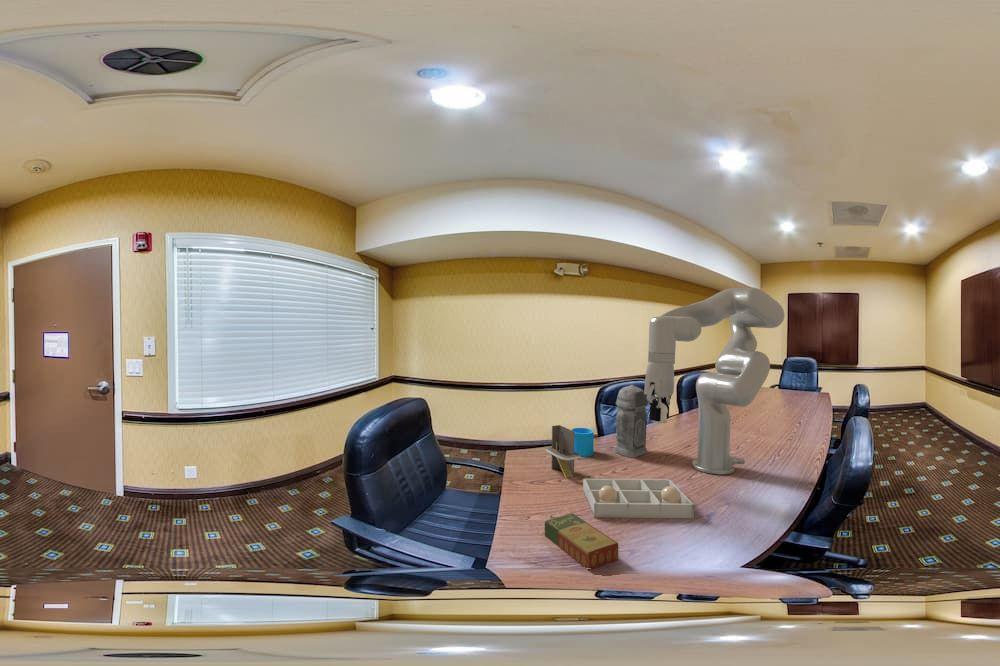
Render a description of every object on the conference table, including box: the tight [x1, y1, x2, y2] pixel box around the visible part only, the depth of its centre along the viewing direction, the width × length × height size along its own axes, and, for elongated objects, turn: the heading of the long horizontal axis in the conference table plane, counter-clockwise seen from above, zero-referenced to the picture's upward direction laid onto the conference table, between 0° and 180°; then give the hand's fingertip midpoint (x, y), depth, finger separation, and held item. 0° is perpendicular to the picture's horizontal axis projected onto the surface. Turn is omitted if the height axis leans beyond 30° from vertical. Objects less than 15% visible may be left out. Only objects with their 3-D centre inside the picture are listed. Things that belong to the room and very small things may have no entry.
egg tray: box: [582, 478, 695, 519], centre depth 123 cm, size 25×17×4 cm
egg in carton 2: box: [661, 486, 680, 504], centre depth 118 cm, size 5×5×6 cm
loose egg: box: [651, 403, 668, 424], centre depth 136 cm, size 5×5×6 cm
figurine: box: [613, 384, 649, 459], centre depth 165 cm, size 10×14×25 cm
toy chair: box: [545, 424, 581, 479], centre depth 145 cm, size 20×25×15 cm
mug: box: [570, 427, 595, 457], centre depth 164 cm, size 12×8×8 cm
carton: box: [544, 512, 619, 569], centre depth 100 cm, size 8×16×4 cm, turn 28°
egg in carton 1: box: [599, 486, 617, 503], centre depth 119 cm, size 5×5×6 cm
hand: (659, 418), depth 136 cm, fingers closed on loose egg, 4 cm apart
